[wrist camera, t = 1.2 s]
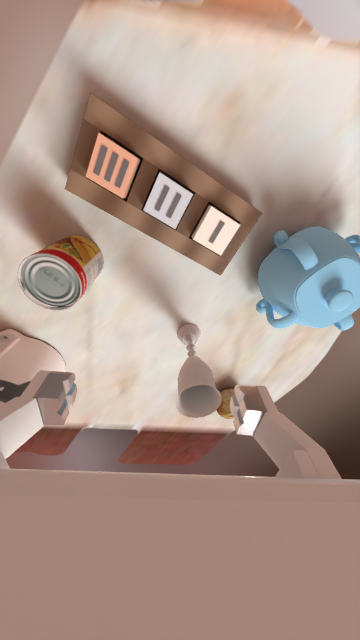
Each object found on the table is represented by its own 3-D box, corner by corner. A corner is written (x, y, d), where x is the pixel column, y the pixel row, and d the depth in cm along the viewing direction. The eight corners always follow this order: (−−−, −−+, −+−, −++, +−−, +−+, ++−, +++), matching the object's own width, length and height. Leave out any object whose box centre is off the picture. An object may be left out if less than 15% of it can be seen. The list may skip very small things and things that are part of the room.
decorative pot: (239, 302, 46) (264, 342, 34) (269, 216, 37) (315, 231, 26) (312, 312, 48) (359, 353, 36) (355, 233, 40) (433, 253, 28)
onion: (216, 381, 57) (223, 408, 50) (246, 383, 58) (257, 410, 51) (210, 401, 61) (215, 429, 54) (238, 403, 62) (247, 430, 55)
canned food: (54, 231, 37) (10, 249, 27) (103, 238, 38) (79, 258, 28) (60, 276, 41) (23, 307, 31) (104, 282, 42) (83, 313, 32)
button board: (253, 210, 37) (262, 213, 33) (216, 268, 41) (220, 275, 38) (99, 103, 29) (90, 92, 26) (75, 188, 34) (64, 188, 31)
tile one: (235, 222, 35) (240, 225, 32) (217, 251, 37) (221, 256, 34) (208, 204, 33) (211, 206, 31) (191, 235, 35) (193, 239, 33)
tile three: (140, 160, 30) (138, 158, 28) (126, 197, 32) (122, 198, 30) (104, 136, 29) (98, 132, 26) (91, 177, 31) (85, 176, 28)
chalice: (179, 315, 46) (185, 380, 31) (209, 324, 48) (229, 390, 32) (168, 343, 50) (169, 413, 34) (197, 350, 51) (210, 420, 36)
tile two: (191, 193, 32) (193, 194, 30) (174, 226, 34) (175, 229, 32) (160, 173, 31) (159, 172, 28) (145, 208, 33) (143, 210, 30)
